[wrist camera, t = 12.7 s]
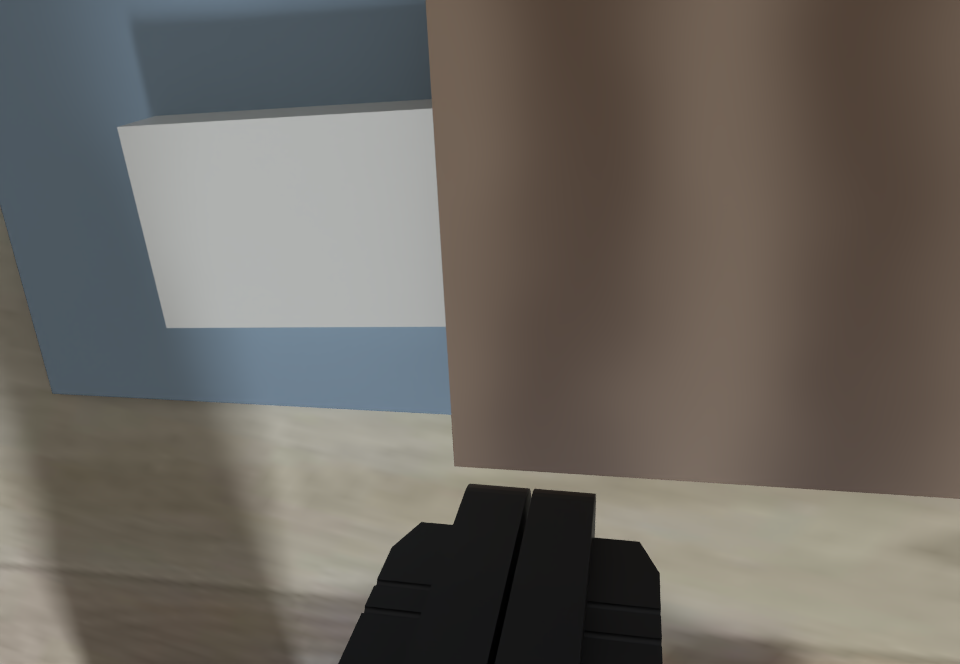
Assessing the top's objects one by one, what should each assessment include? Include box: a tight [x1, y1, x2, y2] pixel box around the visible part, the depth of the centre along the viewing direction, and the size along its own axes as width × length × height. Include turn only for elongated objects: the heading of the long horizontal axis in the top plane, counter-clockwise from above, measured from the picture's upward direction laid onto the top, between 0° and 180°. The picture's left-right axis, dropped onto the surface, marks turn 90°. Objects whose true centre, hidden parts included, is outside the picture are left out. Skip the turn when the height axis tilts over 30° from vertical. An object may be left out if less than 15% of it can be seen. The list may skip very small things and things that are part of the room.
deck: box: [426, 0, 960, 499], centre depth 20 cm, size 20×13×4 cm, turn 93°
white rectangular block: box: [117, 99, 446, 328], centre depth 24 cm, size 9×6×2 cm, turn 95°
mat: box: [0, 0, 451, 415], centre depth 25 cm, size 15×14×1 cm
